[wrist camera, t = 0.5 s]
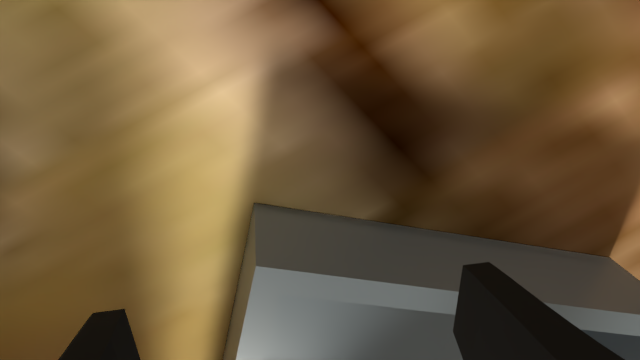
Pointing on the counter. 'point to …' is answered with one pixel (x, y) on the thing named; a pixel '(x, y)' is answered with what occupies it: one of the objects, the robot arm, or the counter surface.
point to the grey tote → (400, 289)
